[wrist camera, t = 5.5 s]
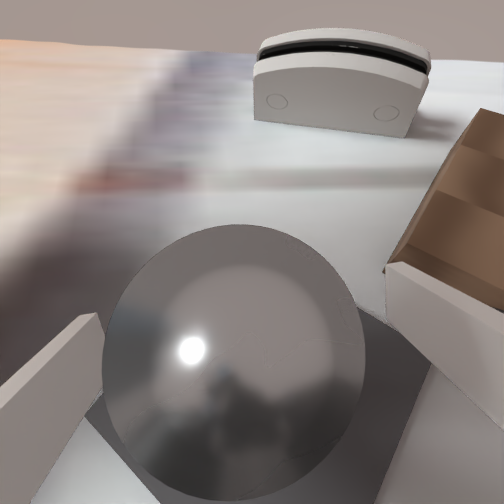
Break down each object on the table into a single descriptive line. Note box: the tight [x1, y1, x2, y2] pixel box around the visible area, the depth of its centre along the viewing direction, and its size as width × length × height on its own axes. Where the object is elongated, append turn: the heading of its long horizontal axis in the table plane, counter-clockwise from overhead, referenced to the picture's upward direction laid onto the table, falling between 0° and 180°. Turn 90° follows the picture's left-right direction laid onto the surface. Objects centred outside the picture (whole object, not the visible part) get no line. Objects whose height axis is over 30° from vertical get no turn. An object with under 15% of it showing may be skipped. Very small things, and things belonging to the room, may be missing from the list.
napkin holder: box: [253, 28, 431, 138], centre depth 27 cm, size 17×5×10 cm, turn 74°
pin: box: [102, 225, 365, 502], centre depth 11 cm, size 4×4×15 cm
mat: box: [84, 308, 431, 504], centre depth 18 cm, size 16×16×1 cm
